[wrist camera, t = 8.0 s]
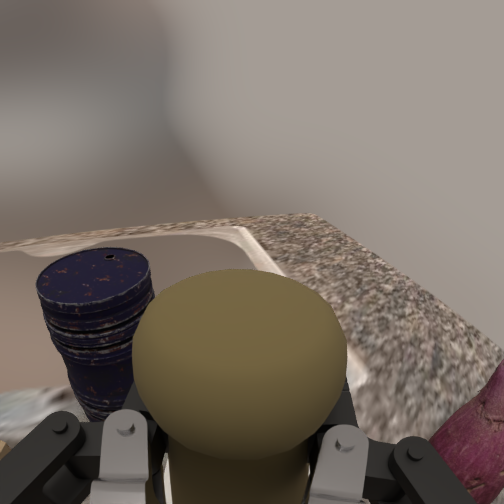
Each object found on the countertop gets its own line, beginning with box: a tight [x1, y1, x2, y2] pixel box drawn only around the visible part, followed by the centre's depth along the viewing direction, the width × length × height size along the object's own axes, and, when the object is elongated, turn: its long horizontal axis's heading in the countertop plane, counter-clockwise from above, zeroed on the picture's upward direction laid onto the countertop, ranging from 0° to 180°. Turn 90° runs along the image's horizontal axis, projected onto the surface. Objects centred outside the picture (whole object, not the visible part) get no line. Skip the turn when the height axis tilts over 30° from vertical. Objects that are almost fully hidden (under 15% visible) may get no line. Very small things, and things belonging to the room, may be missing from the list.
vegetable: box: [428, 359, 504, 504], centre depth 18 cm, size 10×10×15 cm
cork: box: [132, 269, 347, 504], centre depth 9 cm, size 6×6×11 cm
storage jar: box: [36, 247, 155, 422], centre depth 26 cm, size 10×10×15 cm
